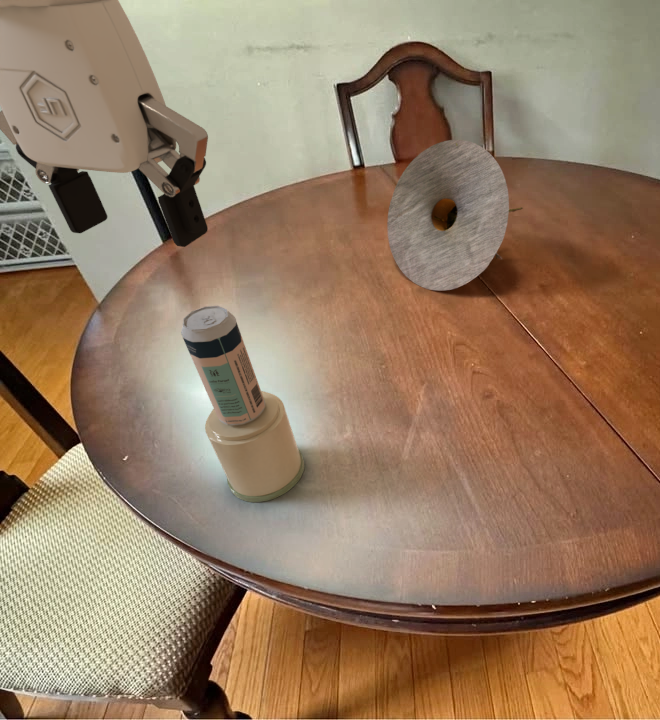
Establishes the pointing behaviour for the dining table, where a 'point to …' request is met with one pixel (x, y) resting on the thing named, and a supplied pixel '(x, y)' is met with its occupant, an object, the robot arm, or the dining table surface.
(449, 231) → the disc
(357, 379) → the dining table surface
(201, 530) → the dining table surface
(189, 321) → the beer can
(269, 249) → the dining table surface
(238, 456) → the cup
